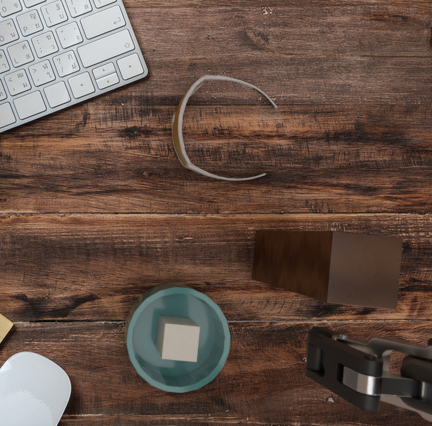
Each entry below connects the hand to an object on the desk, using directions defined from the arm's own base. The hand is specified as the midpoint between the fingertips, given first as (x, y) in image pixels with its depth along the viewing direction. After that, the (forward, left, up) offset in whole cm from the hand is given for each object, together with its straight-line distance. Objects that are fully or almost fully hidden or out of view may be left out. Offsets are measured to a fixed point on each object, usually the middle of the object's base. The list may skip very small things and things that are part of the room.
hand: (373, 346), depth 34 cm
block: (-7, +8, -34) cm, 35 cm away
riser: (+5, -6, -34) cm, 35 cm away
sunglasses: (+22, +4, -34) cm, 41 cm away
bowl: (-7, +8, -34) cm, 36 cm away
